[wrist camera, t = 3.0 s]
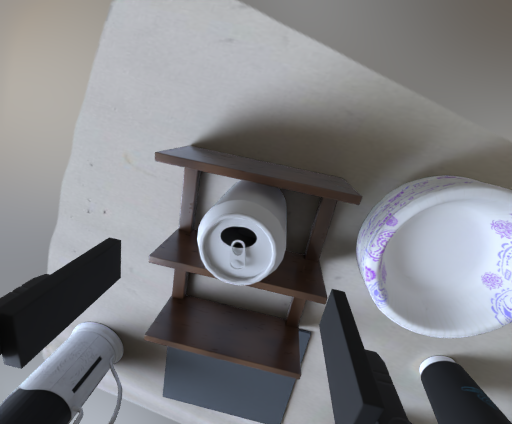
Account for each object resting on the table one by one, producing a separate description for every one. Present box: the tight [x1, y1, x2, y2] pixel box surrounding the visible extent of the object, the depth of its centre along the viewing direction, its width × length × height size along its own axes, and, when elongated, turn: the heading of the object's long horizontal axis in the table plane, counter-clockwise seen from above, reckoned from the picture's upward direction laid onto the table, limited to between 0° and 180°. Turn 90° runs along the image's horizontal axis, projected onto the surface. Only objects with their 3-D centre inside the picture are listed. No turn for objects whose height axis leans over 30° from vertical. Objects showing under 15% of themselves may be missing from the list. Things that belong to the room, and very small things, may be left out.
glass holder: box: [0, 322, 123, 424], centre depth 34 cm, size 9×14×15 cm, turn 89°
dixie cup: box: [419, 356, 512, 424], centre depth 30 cm, size 8×8×11 cm
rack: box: [144, 146, 362, 379], centre depth 29 cm, size 18×21×8 cm
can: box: [197, 180, 287, 285], centre depth 25 cm, size 8×8×12 cm
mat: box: [163, 329, 311, 424], centre depth 39 cm, size 20×20×1 cm
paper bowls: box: [356, 176, 512, 338], centre depth 26 cm, size 15×15×8 cm
